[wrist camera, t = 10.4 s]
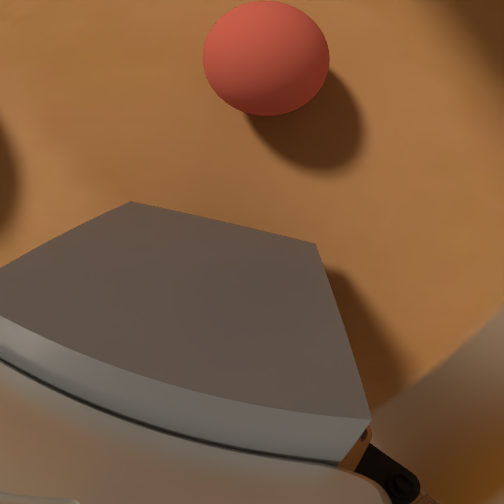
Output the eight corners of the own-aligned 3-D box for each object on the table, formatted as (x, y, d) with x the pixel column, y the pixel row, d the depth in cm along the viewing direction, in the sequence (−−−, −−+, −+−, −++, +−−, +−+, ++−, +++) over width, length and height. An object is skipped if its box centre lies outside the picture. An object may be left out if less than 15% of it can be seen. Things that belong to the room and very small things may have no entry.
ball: (191, -6, 7) (178, 120, 11) (349, 24, 7) (308, 151, 11) (231, -8, 11) (216, 82, 14) (339, 15, 11) (313, 105, 14)
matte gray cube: (130, 201, 12) (-39, 292, 4) (315, 243, 12) (372, 419, 4) (123, 347, 15) (39, 479, 7) (268, 385, 15) (256, 548, 7)
